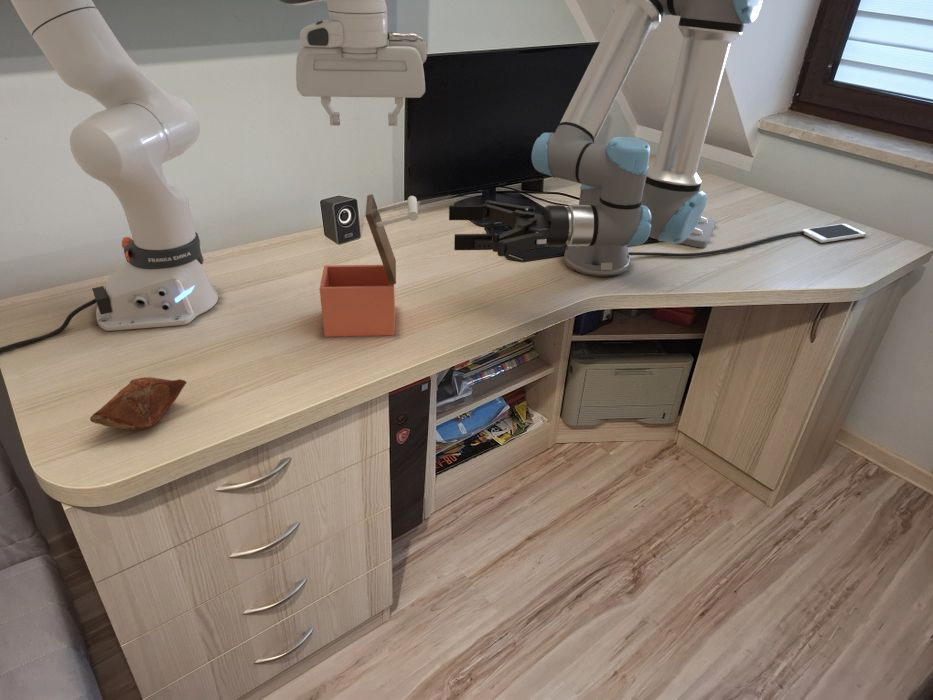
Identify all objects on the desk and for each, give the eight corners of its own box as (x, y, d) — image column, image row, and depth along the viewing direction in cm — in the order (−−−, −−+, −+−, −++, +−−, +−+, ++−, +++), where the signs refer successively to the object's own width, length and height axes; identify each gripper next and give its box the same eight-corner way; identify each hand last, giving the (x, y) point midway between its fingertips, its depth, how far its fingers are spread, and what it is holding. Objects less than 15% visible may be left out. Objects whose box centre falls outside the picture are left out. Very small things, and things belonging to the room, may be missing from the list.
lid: (365, 215, 109) (413, 201, 108) (367, 195, 117) (411, 182, 116) (390, 285, 117) (435, 273, 116) (390, 262, 124) (432, 250, 124)
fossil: (192, 375, 104) (155, 351, 95) (202, 420, 100) (164, 400, 91) (121, 406, 104) (76, 386, 95) (128, 452, 100) (83, 436, 91)
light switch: (708, 237, 159) (646, 224, 164) (705, 248, 160) (644, 236, 166) (717, 213, 172) (660, 202, 178) (714, 224, 174) (658, 213, 179)
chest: (324, 336, 121) (319, 288, 116) (328, 311, 129) (324, 265, 123) (395, 335, 123) (393, 287, 117) (395, 310, 131) (393, 264, 125)
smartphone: (800, 232, 171) (801, 229, 171) (843, 226, 176) (844, 222, 176) (821, 243, 166) (822, 239, 165) (865, 236, 171) (866, 232, 170)
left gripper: (426, 30, 101) (426, 120, 109) (294, 27, 99) (304, 119, 107) (427, 36, 96) (428, 130, 103) (288, 33, 94) (299, 129, 101)
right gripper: (579, 274, 110) (456, 276, 108) (550, 219, 131) (446, 219, 129) (584, 234, 106) (457, 235, 104) (553, 183, 127) (447, 183, 125)
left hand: (364, 124), depth 105 cm, fingers open, 8 cm apart
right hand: (451, 226), depth 116 cm, fingers open, 13 cm apart
